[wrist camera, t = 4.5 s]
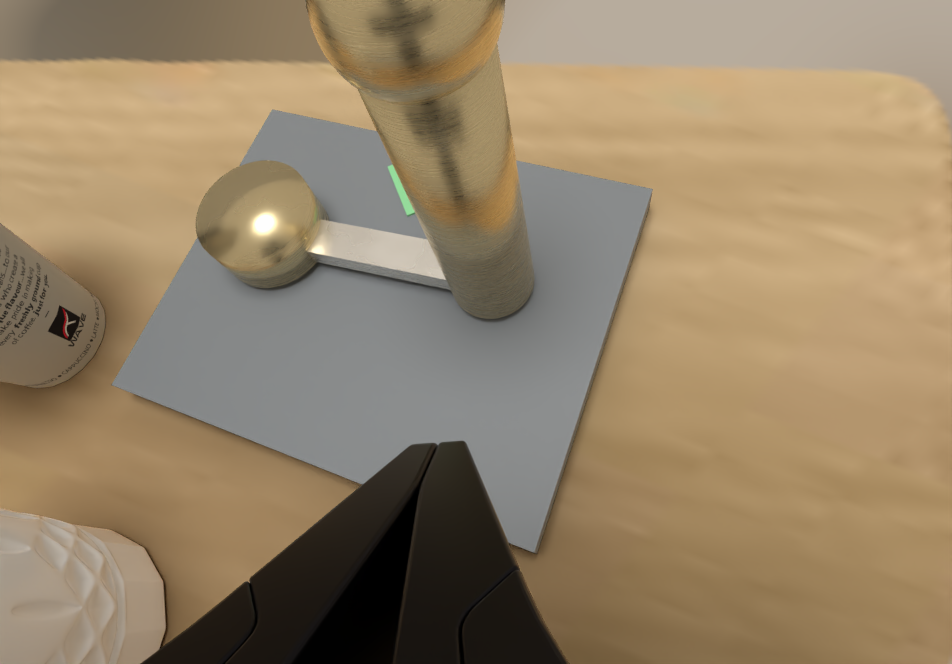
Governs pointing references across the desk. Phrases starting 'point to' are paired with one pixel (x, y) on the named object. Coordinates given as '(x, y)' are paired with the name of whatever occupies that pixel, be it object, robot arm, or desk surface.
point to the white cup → (75, 594)
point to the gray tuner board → (400, 333)
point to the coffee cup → (43, 318)
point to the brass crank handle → (398, 162)
